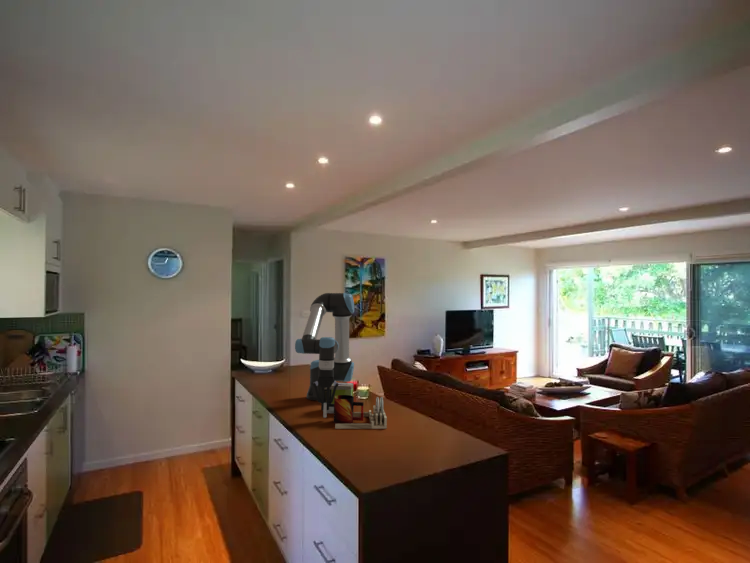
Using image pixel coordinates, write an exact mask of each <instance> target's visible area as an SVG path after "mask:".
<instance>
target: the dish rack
mask: <svg viewBox="0 0 750 563" xmlns="http://www.w3.org/2000/svg"><path fill="white" fill-rule="evenodd" d="M372 406H373V408H372V409H373V411H372V410H371V409H369V410H368V411H363V418H365V417H367V418H368V419H369V423H351V424H335V423H334V424H335V425H334V426H335V428H334V429H335V430H336V429H337V430H340V429H341V430H342V429H343V430H345V429H347V430H348V429H350V430H351V429H352V430H353V429H355V430H356V429H357V430H361V429H363V430H364V429H365V430H367V429H370V430H373V429H376V430H377V429H380V430H382V429H384V430H385V429H387V428H388V426H387V422H388V417H387V415H386V412H385V410H384V398H383V396H380V398H379V397H378V396H376V398H375V405H372ZM353 417H361V411H353Z"/></svg>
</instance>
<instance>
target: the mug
mask: <svg viewBox="0 0 750 563" xmlns="http://www.w3.org/2000/svg"><path fill="white" fill-rule="evenodd" d="M354 398H355V397H354V395H353V396H350V395H338V396H335V397H334V413H333V423H334V424H354V421H359V422H363V421H364V417H363V412H364V401H363V402H361V401H355V400H354ZM354 406H358V407H360V412H361V417H353V412H354V410H355V409H354Z"/></svg>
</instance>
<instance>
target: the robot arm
mask: <svg viewBox="0 0 750 563" xmlns="http://www.w3.org/2000/svg"><path fill="white" fill-rule="evenodd" d="M309 311H310V313H309V316H308V319H307V321H306V325H305V328H304V330H303V333H302V336H301V338H297V339H296V340H295V343H294V350H295V352H296V353H297V354H303V355H304V354H305V355H307V354H308V355H309V354H310V355H318V359H315V360H312V361H311V362H310V367H309V370H310V371H309V387H308V389H307V392H306V399H307V400H310V401H317V403H319V404H320V408H321V411H322V412H323V414H322V417H323V418H324V419H325V418H327V417H328V416H327V414H328V413H327V410H329V403H332V402H333V399H334V395H335V391H336V388H337V386H338V385H339V383H340V382H341V383H349V382H351V381H352V380H353V379H352V378H353V375H354V370H355V362H354V361H352V358H351V357H350V318H351V317H352V316H353V315H352V314H354V313H355V301H354V297H353V295H352V294H351V293H348V292H325V293H323V294H320V295H319V296H317V297H316V298H315V299H314V300H313V301H312V303H311V304H310V307H309ZM327 313H332V317H333V318H334V337H330V336H329V337H328V336H324V337H323V336H322V337H320V338H319V339H317V338H318V334H319V332H320V328H321V324H322V321H323V317H324V316H325V315H326V314H327ZM333 383H334V389H333V393H332V396H331V400H329V393H330V387H331V385H332V384H333ZM325 388H327V403H324V389H325Z"/></svg>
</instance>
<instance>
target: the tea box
mask: <svg viewBox="0 0 750 563" xmlns="http://www.w3.org/2000/svg"><path fill="white" fill-rule="evenodd" d="M338 383H339V385H338V386H337V388H336V391H335V395H334V397H335V396H338V395H350V396H353V397H354V382H353V383H352V382H338ZM333 389H334V383H333V384H332V385H331V387H330V393H329V400H331V396H332V393H333ZM324 403H327V388H325V389H324ZM327 414H334V399H333V402H332V403H329V410H327Z"/></svg>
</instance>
